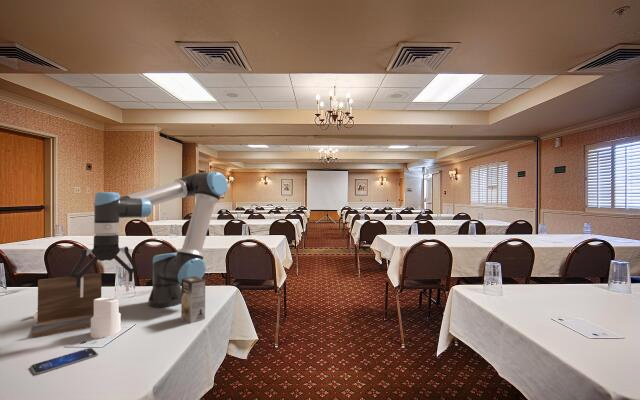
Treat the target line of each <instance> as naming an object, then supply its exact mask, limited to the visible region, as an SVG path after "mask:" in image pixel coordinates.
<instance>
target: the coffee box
mask: <svg viewBox="0 0 640 400" xmlns="http://www.w3.org/2000/svg"><path fill="white" fill-rule="evenodd" d="M181 289H182V291H181V303H180V305H181V307H180V308H181V309H180V310H181V311H180V315H181V316H180V317H181V319H184V320H185V321H187V322H188V323H190V324H193V323H195V322H199V321H203V320H205V319H206V279H205V278H203V277H202V278H199V277H197V276H194V277H188V278H183V279H182V284H181Z"/></svg>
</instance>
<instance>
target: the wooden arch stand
mask: <svg viewBox="0 0 640 400" xmlns="http://www.w3.org/2000/svg"><path fill="white" fill-rule="evenodd" d="M81 277H84V282H83V297H80V287H78V288H77V286H76V281H77V279H76V278H75V277H70V276H62V277H54V278H42V279H37V308H38V310H37V312H38V319H37V322H36V324H35V325H32V326H31V329H32V331H31V338H32V339H33V338H34V339H35V338H39V337H45V336H49V335H55V334H63V333H68V332H72V331H77V330H83V329H90V328H91V318H92V317H94V299H98V298H102V272H101V273H100V272H99V273H89V274H83V275H82V276H81Z"/></svg>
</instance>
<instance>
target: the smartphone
mask: <svg viewBox="0 0 640 400" xmlns="http://www.w3.org/2000/svg"><path fill="white" fill-rule="evenodd" d="M96 357H99V353H98V352H97V351H96V350H95V349H94V348H92V347H89V348H85V349H81V350H79V351H75V352H71V353H69V354H68V353H67V354H64V355H60V356H58V357H54V358H51V359H47V360H44V361H40V362H36V363H34V364H32V365H30V366H29V370H30V371H31V373H32V375H33V376H39V375H43V374H46V373H49V372H53V371H55V370H59V369H62V368H65V367H68V366H71V365H75V364H76V363H80V362H83V361H86V360H90V359H93V358H96Z"/></svg>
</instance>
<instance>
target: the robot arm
mask: <svg viewBox="0 0 640 400" xmlns="http://www.w3.org/2000/svg"><path fill="white" fill-rule="evenodd" d="M228 186H229V185H228V180H227V179H226V177H225V175H224V174H223V173H221V172H219V171H210V172H209V171H208V172H196V173H192V174H188V175H186V176H182V177H180V178H177V179H175V180H174V181H173V182H171V183H170V182H169V183H166V184H163V185H158V186H155V187H151V188H149V189H146V190H141V191H138V192H137V191H136V192H133V193H130V194H125V195H123V196H121V195H120V193H119V192H114V191H99V192H98V191H97V192H96V193H95V195H94V203H93V207H94V208H93V209H94V210H93V211H94V219H93V220H94V221H93V234H94V235H93V248H91V249H87V248H83V249H82V252H81V256H80V258H79V259H78V261H77V262H76V264H75V265H74V267H73V269H72V271H71V272H70V275H69V277H75V278H76V279H77V281H76V286H77V288H78V287H80V297H83V282H84V277H81V276H82V275H85V274H86V273H87V272H88V271H89V269H91V267H92V266H94V264H95V263H97V261H100V262H104V261H112V260H115V261H116V262H117V263H118V264H119V265H121V266H122V268H124V269H125V271H127V272H125V291H126V292H129V291H130V282H133V273H135V272H138V270H139V267H138V265H137V264H136V263H135V261H134V259H133V257H132V256H131V254H130V252H129V247H128V246H127V245H126V246H124V247H123V246H122V247H120V245H119V241H120V239H119V237H120V235H119V232H120V219H123V218H127V219H129V218H148V217H149V216H151V214H152V211H153V206H156V205H159V204H162V203H165V202H167V201H171V200H174V199H176V198H180V199H184V198H187V197H194V198H195V199H196V201H195V204H194V208H193V211H192V213H191V218H190V221H189V225H188V228H187V231H186V234H185V237H184V241H183V244H182V248H181V249H178V250H177V252H170V253H163V254H162V253H161V254H156V255H154V256H153V257H152V288H151V291H150V294H149V297H148V302H147V303H148V306H149V307H153V308H165V307H166V306H167V307H172V305H173V306H176V305H175V304H177V305H179V304H181V291H182V279H183V278H188V277H194V276H197V277H199V278H202V279H203V277H204V276H205V274H206V265H205V264H206V262H205V261H204V260H203V259H204V255H203V253H202V251H203V247H204V244H205V240H206V237H207V234H208V229H209V225H210V222H211V219H212V215H213V212H214V209H215V208H214V207H215V205H216V204H217V203H219V202H220V199H221V196H222V197H223V196H224V195H225V194H226V193H227V192H228V188H229V187H228ZM120 252H121V253H122V254H124V255H125V256H126V258H127V260H128V262H129V264H130V265H131V266H132V267H130V266H129V265H127V264H126V262H124V260H123V259H121V258H120V256H119V255H118V254H119V253H120ZM90 254H92V255H93V256H94V257H93V258H92V259H91V260H90V261H89V262H88V263H87V264H86V265H85V266H84V267H83V268H82V269H81V271H78V270H79V269H80V268H81V266H82V264H83V263H84V261H85V259H86V258H87V256H89V255H90ZM178 303H179V304H178Z"/></svg>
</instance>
